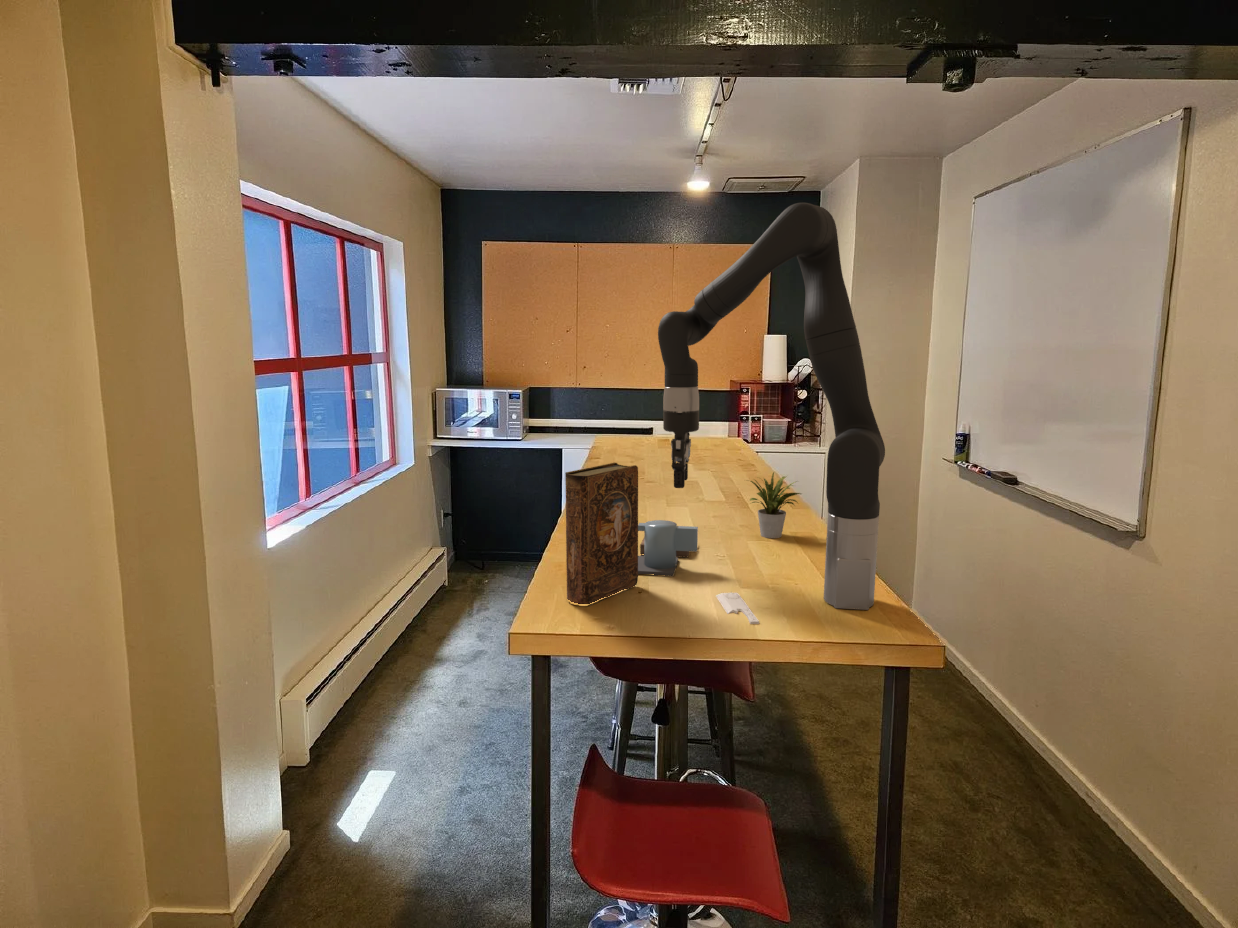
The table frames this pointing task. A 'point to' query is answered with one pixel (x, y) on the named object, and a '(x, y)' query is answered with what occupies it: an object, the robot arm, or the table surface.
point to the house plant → (772, 508)
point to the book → (601, 531)
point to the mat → (646, 570)
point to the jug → (666, 542)
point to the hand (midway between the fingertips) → (680, 483)
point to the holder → (678, 553)
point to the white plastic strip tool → (736, 605)
